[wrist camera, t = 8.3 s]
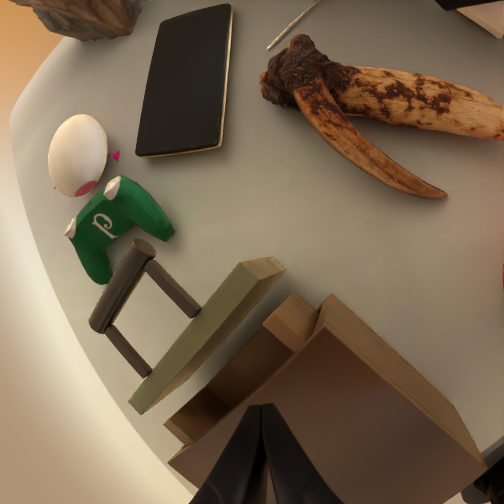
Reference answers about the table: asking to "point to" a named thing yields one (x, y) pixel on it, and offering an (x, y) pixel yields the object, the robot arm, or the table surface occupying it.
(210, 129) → the smartphone
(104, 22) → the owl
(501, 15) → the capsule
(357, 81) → the brown long forked piece
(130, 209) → the gaming controller
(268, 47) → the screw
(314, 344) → the cabinet
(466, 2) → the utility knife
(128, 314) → the table surface
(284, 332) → the drawer
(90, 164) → the stress ball
